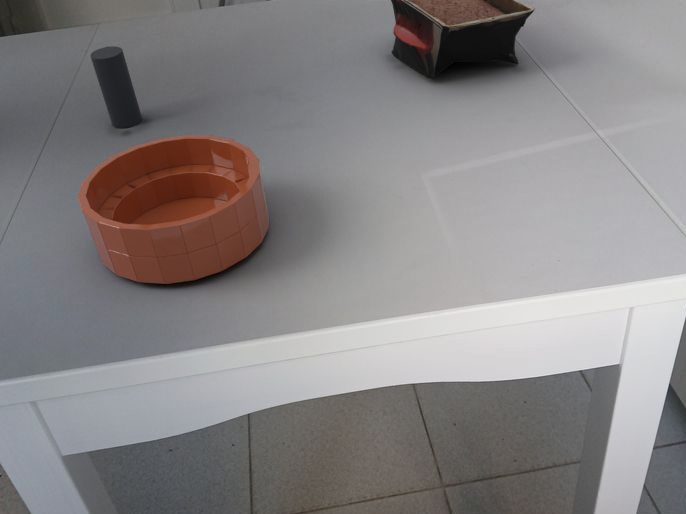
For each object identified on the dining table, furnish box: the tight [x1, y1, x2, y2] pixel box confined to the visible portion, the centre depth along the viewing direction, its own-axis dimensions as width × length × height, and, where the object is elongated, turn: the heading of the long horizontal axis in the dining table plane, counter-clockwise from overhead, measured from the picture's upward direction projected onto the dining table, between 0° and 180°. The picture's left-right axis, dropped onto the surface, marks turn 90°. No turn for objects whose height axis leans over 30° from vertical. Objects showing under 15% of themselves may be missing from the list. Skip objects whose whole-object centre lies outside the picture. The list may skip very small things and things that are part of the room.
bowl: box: [77, 134, 270, 285], centre depth 64 cm, size 15×15×6 cm
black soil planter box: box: [390, 0, 535, 80], centre depth 87 cm, size 14×18×10 cm
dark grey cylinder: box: [89, 45, 143, 129], centre depth 82 cm, size 4×4×8 cm
